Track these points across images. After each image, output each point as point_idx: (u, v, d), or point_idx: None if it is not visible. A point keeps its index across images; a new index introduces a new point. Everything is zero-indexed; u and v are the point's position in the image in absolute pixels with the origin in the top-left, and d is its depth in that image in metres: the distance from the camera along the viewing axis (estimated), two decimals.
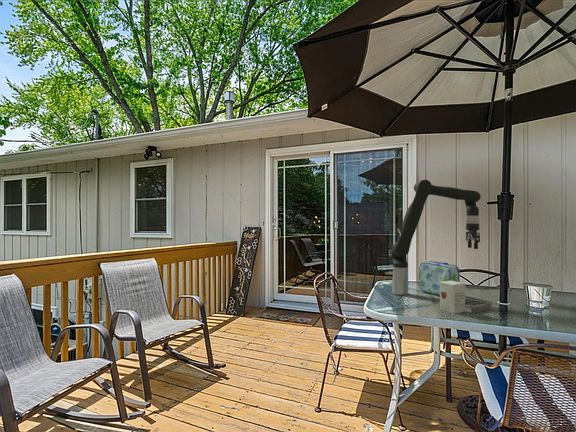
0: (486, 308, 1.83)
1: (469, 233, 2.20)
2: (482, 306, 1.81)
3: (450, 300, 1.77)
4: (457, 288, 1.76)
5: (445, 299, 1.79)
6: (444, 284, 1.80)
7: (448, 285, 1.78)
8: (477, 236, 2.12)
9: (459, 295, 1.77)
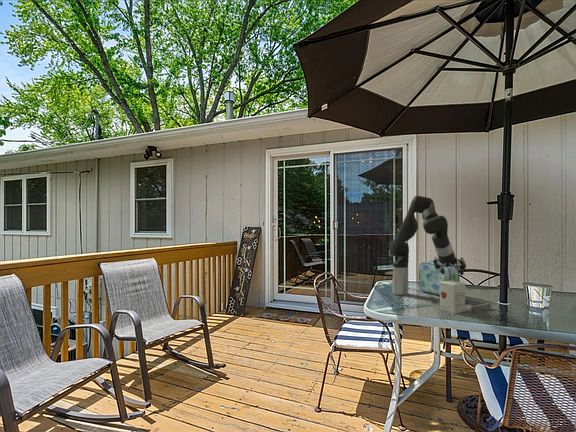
0: (486, 308, 1.83)
1: None
2: (482, 306, 1.81)
3: (450, 300, 1.77)
4: (457, 288, 1.76)
5: (445, 299, 1.79)
6: (444, 284, 1.80)
7: (448, 285, 1.78)
8: None
9: (459, 295, 1.77)
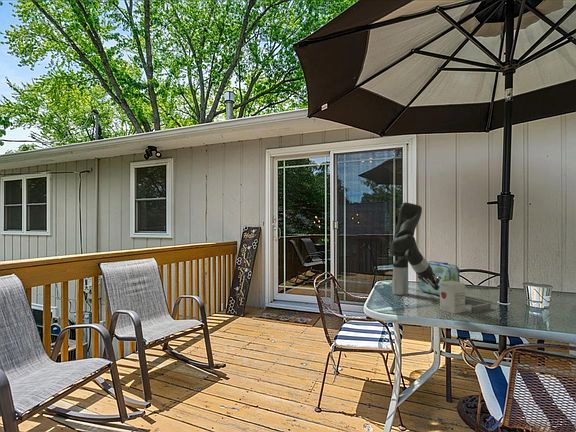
0: (486, 308, 1.83)
1: None
2: (482, 306, 1.81)
3: (450, 300, 1.77)
4: (457, 288, 1.76)
5: (445, 299, 1.79)
6: (444, 284, 1.80)
7: (448, 285, 1.78)
8: None
9: (459, 295, 1.77)
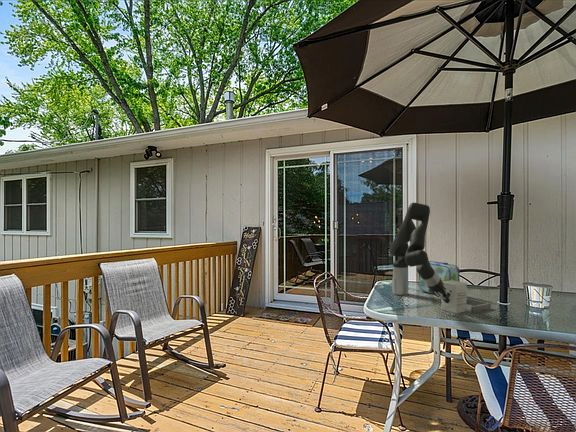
0: (486, 308, 1.83)
1: None
2: (482, 306, 1.81)
3: (452, 299, 1.78)
4: (458, 288, 1.77)
5: None
6: (446, 284, 1.81)
7: (450, 285, 1.79)
8: None
9: (460, 294, 1.77)
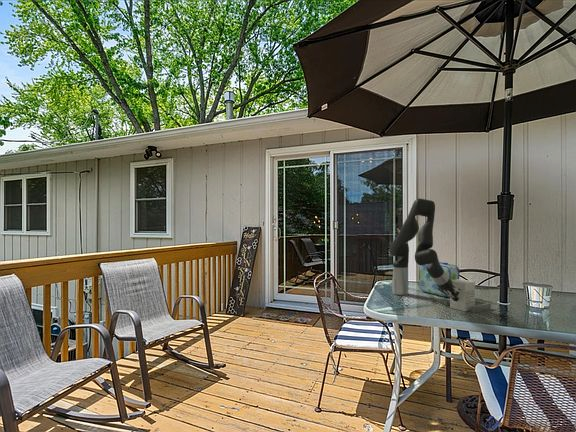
0: (486, 308, 1.83)
1: None
2: (482, 306, 1.81)
3: (461, 298, 1.81)
4: (467, 286, 1.80)
5: None
6: (454, 282, 1.84)
7: (458, 283, 1.82)
8: None
9: (469, 293, 1.81)
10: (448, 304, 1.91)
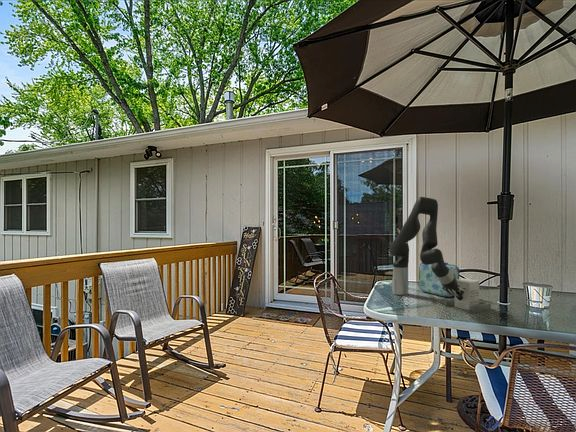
0: (486, 308, 1.83)
1: None
2: (482, 306, 1.81)
3: (465, 297, 1.83)
4: (472, 286, 1.82)
5: None
6: (459, 282, 1.86)
7: (463, 283, 1.84)
8: None
9: (473, 292, 1.83)
10: (448, 304, 1.91)
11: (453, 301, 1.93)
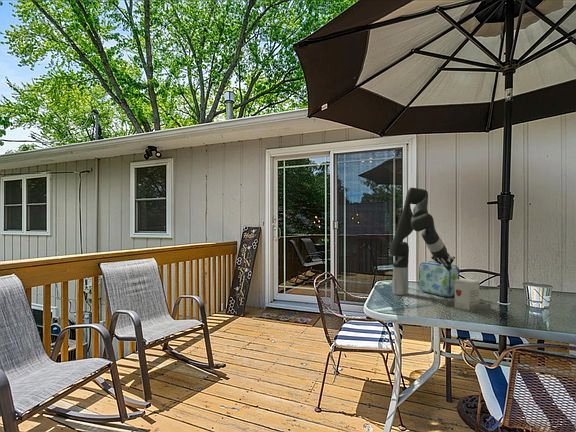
0: (486, 308, 1.83)
1: None
2: (482, 306, 1.81)
3: (465, 297, 1.83)
4: (472, 286, 1.82)
5: (460, 296, 1.85)
6: (459, 282, 1.86)
7: (463, 283, 1.84)
8: None
9: (473, 292, 1.83)
10: (448, 304, 1.91)
11: (453, 301, 1.93)
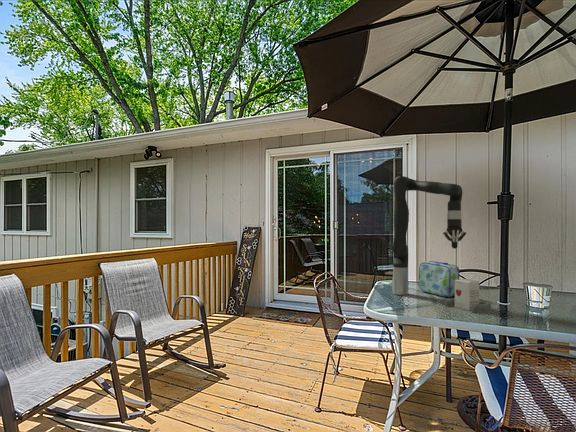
0: (486, 308, 1.83)
1: None
2: (482, 306, 1.81)
3: (465, 297, 1.83)
4: (472, 286, 1.82)
5: (460, 296, 1.85)
6: (459, 282, 1.86)
7: (463, 283, 1.84)
8: (445, 236, 2.01)
9: (473, 292, 1.83)
10: (448, 304, 1.91)
11: (453, 301, 1.93)
